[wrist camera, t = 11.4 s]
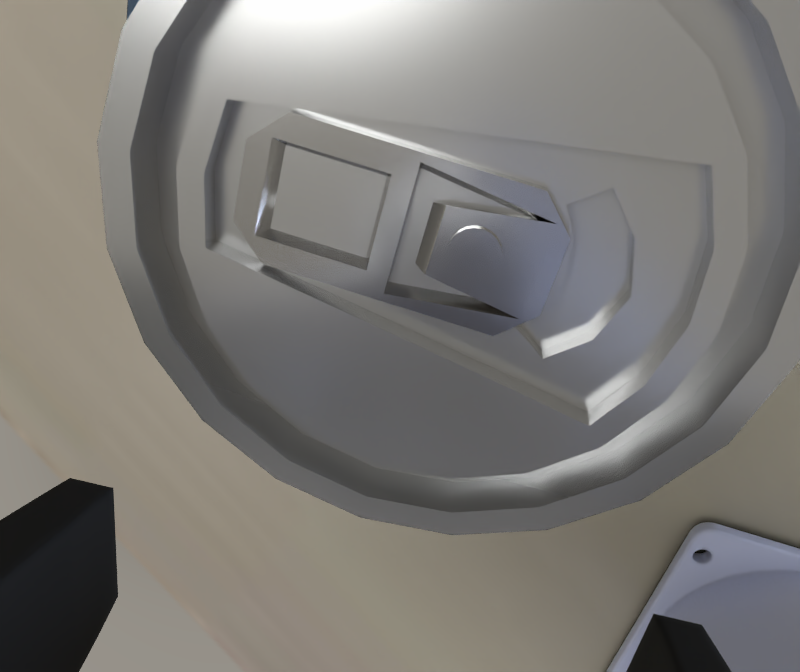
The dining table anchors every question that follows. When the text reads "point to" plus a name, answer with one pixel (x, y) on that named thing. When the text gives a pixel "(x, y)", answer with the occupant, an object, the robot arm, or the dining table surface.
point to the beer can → (462, 240)
